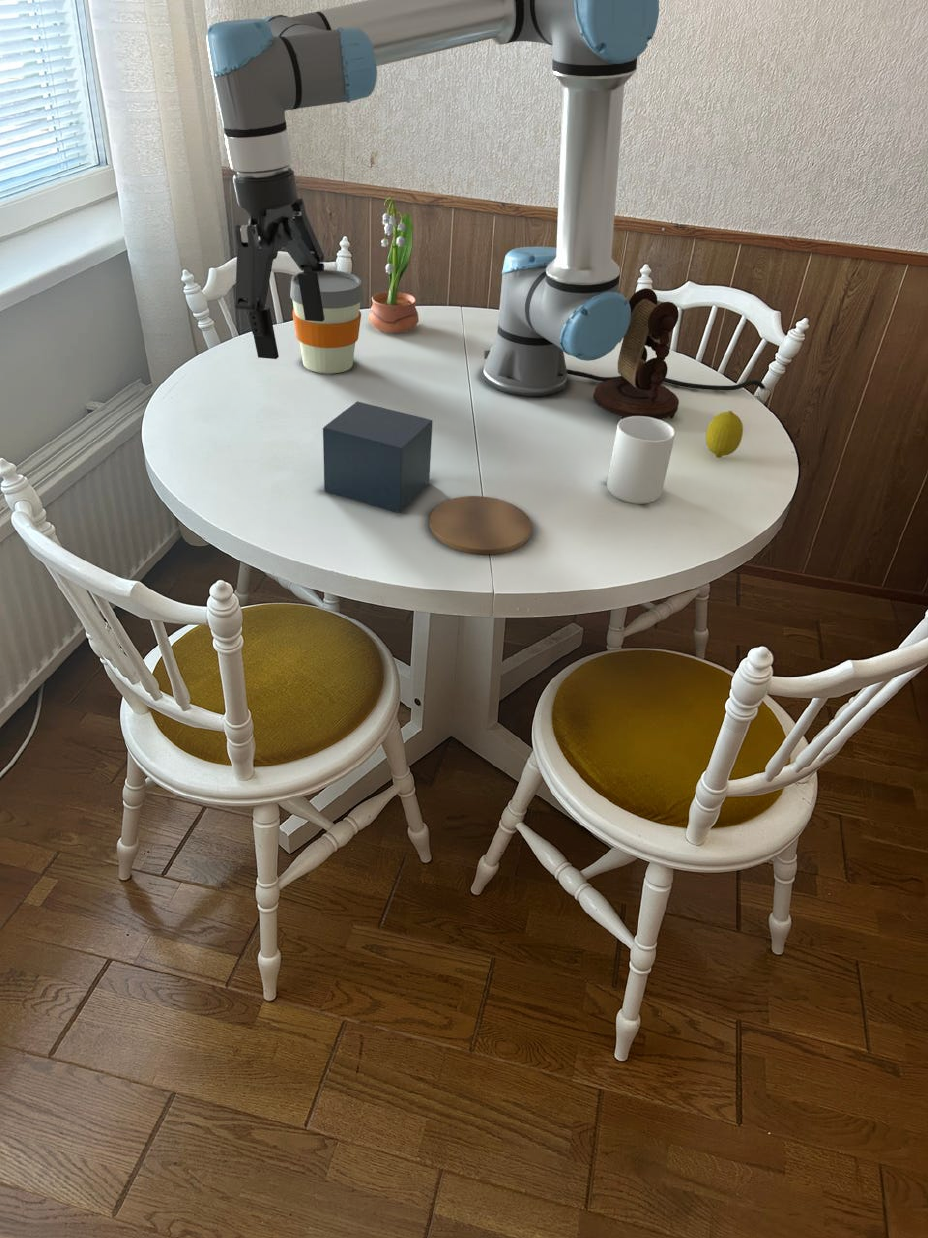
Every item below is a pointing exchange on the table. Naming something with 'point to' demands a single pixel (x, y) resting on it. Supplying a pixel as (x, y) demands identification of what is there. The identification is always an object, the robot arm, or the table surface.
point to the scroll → (642, 363)
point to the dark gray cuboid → (377, 456)
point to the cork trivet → (480, 525)
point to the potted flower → (395, 279)
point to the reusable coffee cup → (329, 322)
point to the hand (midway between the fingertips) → (292, 338)
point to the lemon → (724, 434)
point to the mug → (640, 459)
